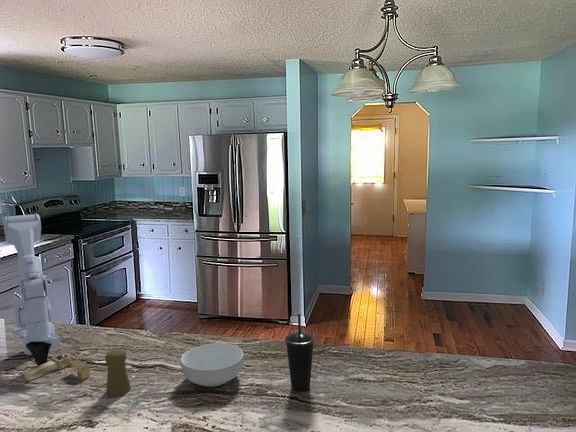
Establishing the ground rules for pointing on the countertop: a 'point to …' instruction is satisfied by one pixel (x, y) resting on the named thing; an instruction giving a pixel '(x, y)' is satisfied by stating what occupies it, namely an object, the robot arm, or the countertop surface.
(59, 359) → the cylinder
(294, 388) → the drinking cup
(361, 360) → the countertop surface
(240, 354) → the cereal bowl
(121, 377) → the pepper mill
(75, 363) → the keeper
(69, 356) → the link
